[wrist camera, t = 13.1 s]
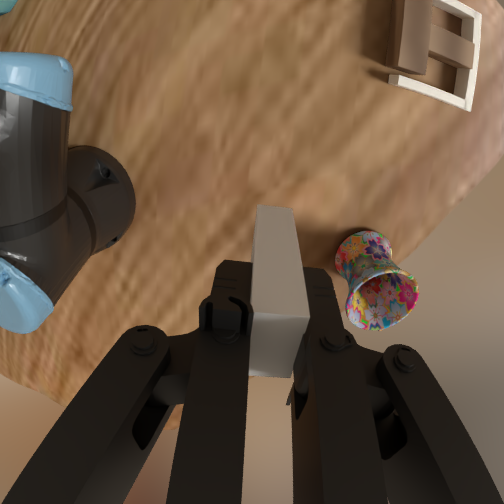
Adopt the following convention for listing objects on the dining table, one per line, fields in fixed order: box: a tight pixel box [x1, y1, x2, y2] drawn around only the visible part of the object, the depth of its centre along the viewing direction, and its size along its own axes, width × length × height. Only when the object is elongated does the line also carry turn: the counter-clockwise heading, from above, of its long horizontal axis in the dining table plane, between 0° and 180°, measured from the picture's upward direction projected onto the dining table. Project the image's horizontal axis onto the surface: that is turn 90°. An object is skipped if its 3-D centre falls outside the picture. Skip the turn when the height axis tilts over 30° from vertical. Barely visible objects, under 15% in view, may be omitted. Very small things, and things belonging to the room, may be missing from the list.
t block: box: [385, 0, 475, 75], centre depth 25 cm, size 10×10×4 cm
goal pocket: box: [388, 0, 482, 112], centre depth 25 cm, size 11×14×3 cm
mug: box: [335, 231, 419, 331], centre depth 39 cm, size 12×9×11 cm
